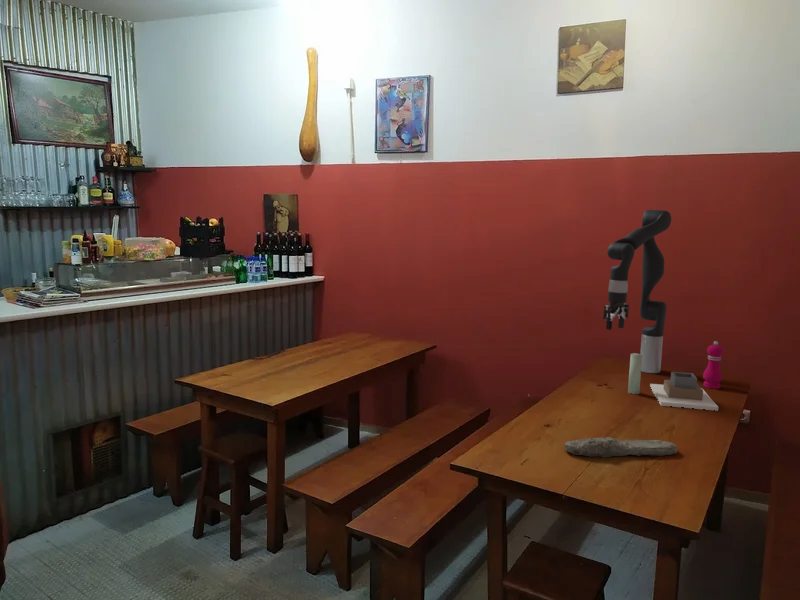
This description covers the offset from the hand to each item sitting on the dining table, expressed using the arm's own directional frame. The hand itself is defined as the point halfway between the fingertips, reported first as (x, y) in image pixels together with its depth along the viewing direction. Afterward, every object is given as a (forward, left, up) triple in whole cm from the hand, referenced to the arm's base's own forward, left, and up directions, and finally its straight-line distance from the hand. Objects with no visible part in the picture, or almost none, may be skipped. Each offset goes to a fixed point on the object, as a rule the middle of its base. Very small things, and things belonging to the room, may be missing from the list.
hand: (615, 328), depth 254 cm
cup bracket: (+12, +26, -24) cm, 37 cm away
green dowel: (+10, +8, -24) cm, 27 cm away
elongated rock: (+78, -4, -25) cm, 82 cm away
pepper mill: (-10, +42, -25) cm, 50 cm away
